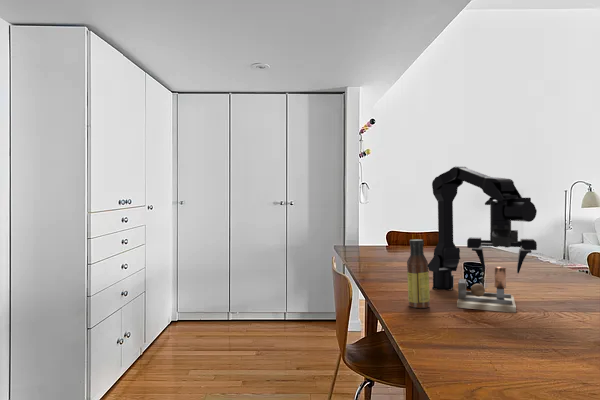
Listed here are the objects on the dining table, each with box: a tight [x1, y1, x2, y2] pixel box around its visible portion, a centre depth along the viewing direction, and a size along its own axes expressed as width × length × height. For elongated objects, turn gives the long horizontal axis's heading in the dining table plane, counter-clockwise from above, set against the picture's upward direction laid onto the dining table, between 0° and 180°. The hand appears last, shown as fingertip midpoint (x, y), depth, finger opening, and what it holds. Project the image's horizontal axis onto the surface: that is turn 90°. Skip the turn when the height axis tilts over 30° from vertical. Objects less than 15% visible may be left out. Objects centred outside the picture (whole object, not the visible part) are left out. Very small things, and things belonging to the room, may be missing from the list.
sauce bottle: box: [406, 238, 431, 309], centre depth 132 cm, size 6×6×20 cm
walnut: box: [470, 283, 486, 297], centre depth 136 cm, size 4×4×4 cm
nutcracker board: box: [456, 278, 517, 314], centre depth 135 cm, size 16×16×6 cm
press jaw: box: [493, 266, 507, 300], centre depth 134 cm, size 3×6×10 cm, turn 157°
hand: (500, 272), depth 134 cm, fingers open, 9 cm apart
